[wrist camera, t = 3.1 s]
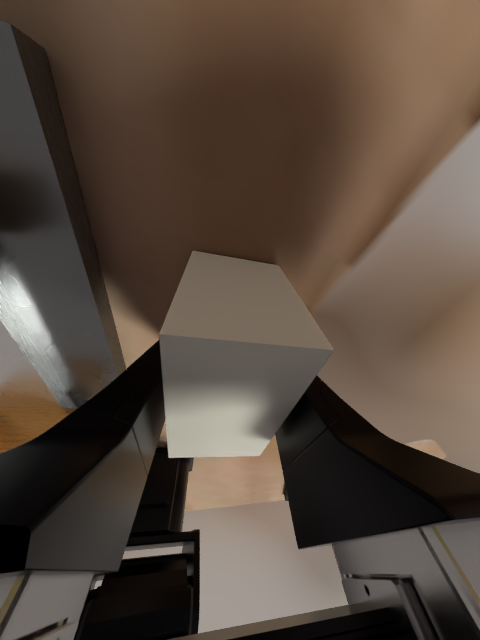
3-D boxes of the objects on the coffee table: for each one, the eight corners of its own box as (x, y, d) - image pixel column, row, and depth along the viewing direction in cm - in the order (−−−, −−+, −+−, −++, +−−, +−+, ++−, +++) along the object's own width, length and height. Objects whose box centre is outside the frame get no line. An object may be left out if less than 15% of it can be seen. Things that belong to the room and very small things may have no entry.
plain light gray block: (246, 362, 13) (259, 455, 9) (187, 358, 12) (168, 457, 8) (278, 265, 9) (334, 350, 4) (192, 250, 8) (159, 334, 4)
